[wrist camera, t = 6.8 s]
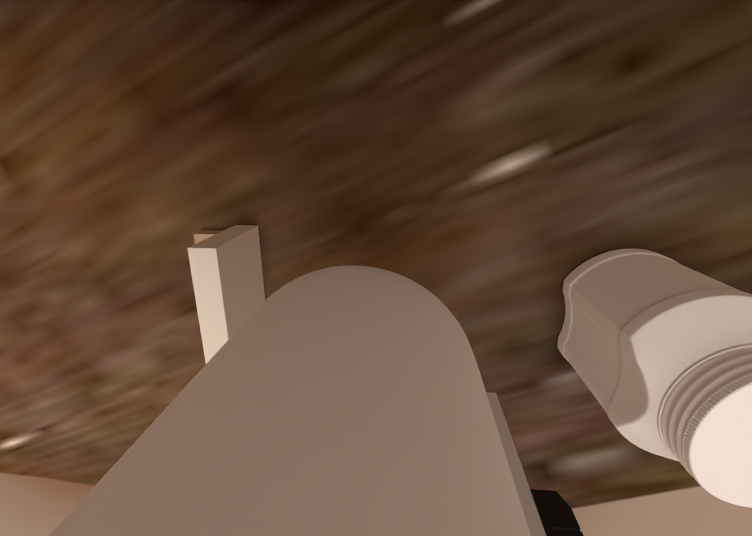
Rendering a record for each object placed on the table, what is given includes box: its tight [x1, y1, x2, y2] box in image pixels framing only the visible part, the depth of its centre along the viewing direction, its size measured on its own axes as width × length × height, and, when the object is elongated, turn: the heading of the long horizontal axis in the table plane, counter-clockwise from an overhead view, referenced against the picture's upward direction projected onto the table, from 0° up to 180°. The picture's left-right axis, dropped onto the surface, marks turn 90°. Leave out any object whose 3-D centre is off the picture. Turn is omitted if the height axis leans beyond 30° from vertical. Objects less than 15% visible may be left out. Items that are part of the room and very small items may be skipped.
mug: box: [50, 265, 531, 536], centre depth 10 cm, size 9×12×11 cm
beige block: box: [188, 225, 265, 364], centre depth 31 cm, size 11×5×8 cm, turn 0°
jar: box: [557, 249, 752, 507], centre depth 25 cm, size 12×10×15 cm
